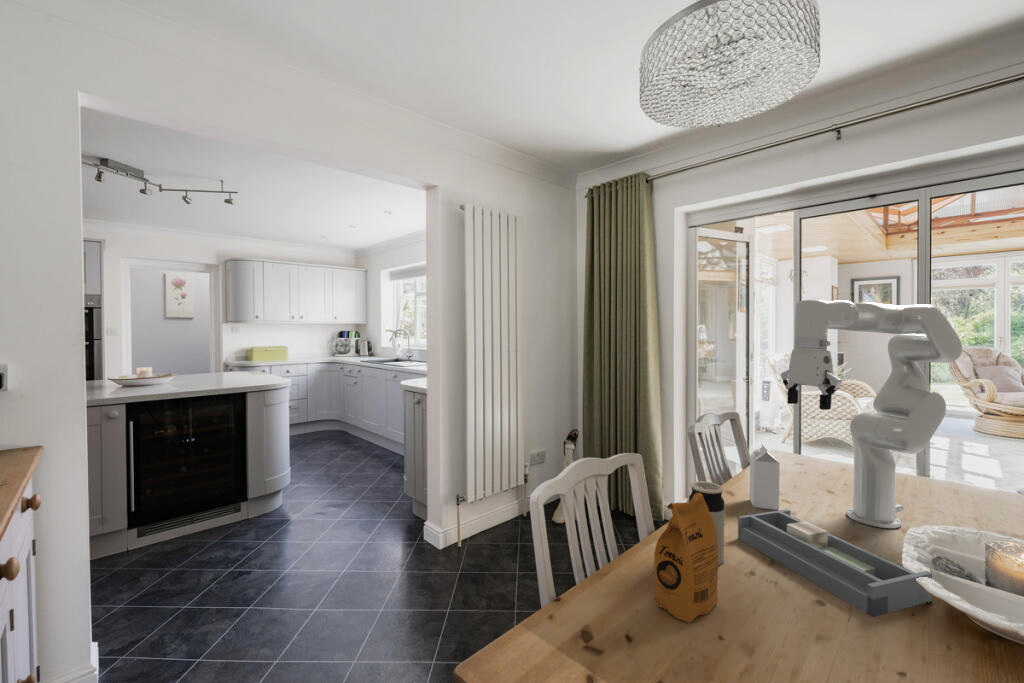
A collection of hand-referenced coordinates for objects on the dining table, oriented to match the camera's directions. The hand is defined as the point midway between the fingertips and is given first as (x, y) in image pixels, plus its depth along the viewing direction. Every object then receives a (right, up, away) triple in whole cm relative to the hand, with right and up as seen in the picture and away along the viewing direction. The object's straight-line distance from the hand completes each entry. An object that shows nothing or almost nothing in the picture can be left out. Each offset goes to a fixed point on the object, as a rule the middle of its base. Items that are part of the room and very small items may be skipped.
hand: (808, 406), depth 122 cm
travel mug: (-34, -36, -13) cm, 51 cm away
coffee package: (-47, -36, -31) cm, 67 cm away
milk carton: (-1, -35, +20) cm, 40 cm away
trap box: (-8, -36, -17) cm, 40 cm away
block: (-9, -32, -13) cm, 36 cm away
